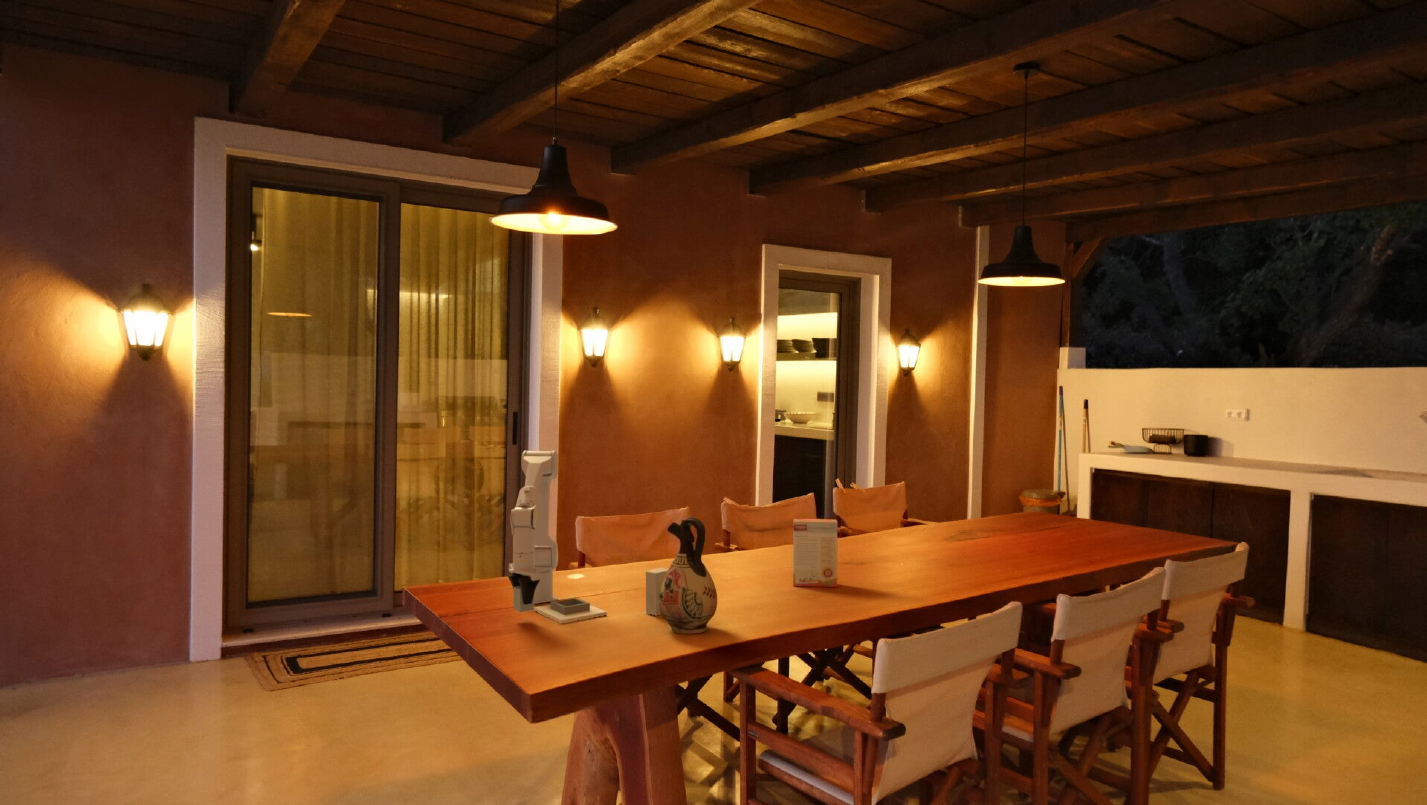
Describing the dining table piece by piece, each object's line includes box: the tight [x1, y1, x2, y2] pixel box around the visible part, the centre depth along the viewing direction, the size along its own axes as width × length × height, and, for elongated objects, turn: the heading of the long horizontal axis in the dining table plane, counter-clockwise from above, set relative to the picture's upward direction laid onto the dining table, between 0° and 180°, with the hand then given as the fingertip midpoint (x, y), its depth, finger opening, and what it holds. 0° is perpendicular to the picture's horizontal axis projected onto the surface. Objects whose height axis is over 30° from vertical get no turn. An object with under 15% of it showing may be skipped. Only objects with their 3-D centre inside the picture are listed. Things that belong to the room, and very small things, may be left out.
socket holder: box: [533, 597, 608, 625], centre depth 247 cm, size 16×14×3 cm
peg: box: [513, 586, 535, 613], centre depth 239 cm, size 4×4×6 cm
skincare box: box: [645, 567, 669, 617], centre depth 248 cm, size 6×4×12 cm
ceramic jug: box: [659, 517, 718, 636], centre depth 231 cm, size 17×15×30 cm
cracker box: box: [792, 518, 838, 588], centre depth 283 cm, size 14×6×21 cm, turn 84°
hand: (523, 602), depth 239 cm, fingers closed on peg, 4 cm apart
